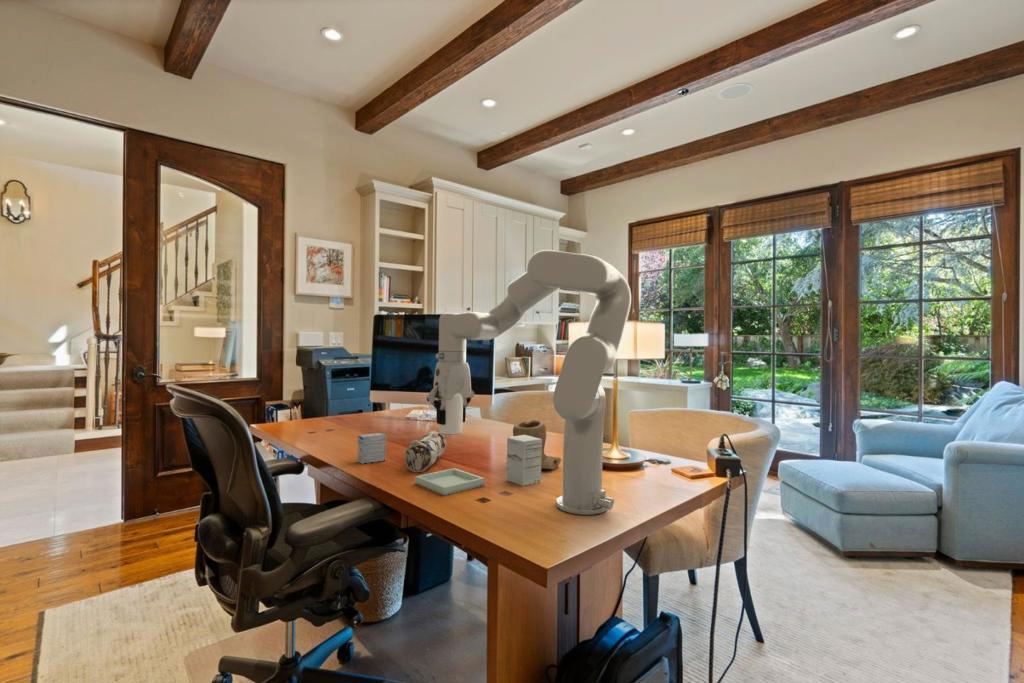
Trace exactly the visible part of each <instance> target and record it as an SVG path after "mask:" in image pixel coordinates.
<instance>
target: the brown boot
mask: <svg viewBox="0 0 1024 683" xmlns="http://www.w3.org/2000/svg"><path fill="white" fill-rule="evenodd" d="M519 435H528V436H532V437H536V438H539V439H542V457H541V470H555V469H557V468H558V467H559V465H560V463H561V460H562V458H561V457H559V456H558V457H557V456H548V455H547V454H545V445H546V441H547V427H546V424H545V423H544V422H543V421H541V420H537V419H535V420H534V419H533V420H530V421H526V420H523V421H522V420H521V421H520V422H518V423H515V424H514V426H513V428H512V437H513V436H519Z"/></svg>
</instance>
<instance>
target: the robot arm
mask: <svg viewBox="0 0 1024 683" xmlns="http://www.w3.org/2000/svg"><path fill="white" fill-rule="evenodd" d="M626 279H627V278H625V277H624V276H623V274H622V273H621V272H620V271H619V270H618V269H617V268H616V267H615V266H613V265H612V264H610V263H609V262H607V261H605V260H604V259H602V258H600V257H598V256H595V255H592V254H591V255H589V254H584V253H577V252H576V253H575V252H568V251H561V250H554V249H553V250H552V249H542V250H539V251H537V252H535V253H533V254H532V255H531V256H530V258H529V259H528V261H527V264H526V271H525V272H524V273H522V274H520V276H518V277H516V279H513V280H512V281H511V282H509V284H508V285H507V287H506V288H507V289H506V291H507V294H506V296H505V298H504V300H502V302H501V303H499V304H498V305H497V306H495V307H494V308H493V309H491V310H489V311H488V312H479V311H467V312H462V313H461V312H459V313H457V312H445V313H444V312H443V313H441V314H440V316H439V320H438V324H439V325H438V326H439V327H438V353H436V354H435V358H436V359H437V360H438V362H436V364H435V365H436V366H435V370H434V374H433V376H434V377H433V378H434V379H433V388H432V389H431V391H430V392H429V393H428V394H427V396H426V399H427V400H428V401H429V402H430V403H431V405H432V406H433V407H434V409H435V410H436V416H435V418H436V424H438V425H439V424H441V425H445V422H446V411H445V410H444V407H445V404H446V400H451V399H453V396H454V395H455V394H457V393H459V394H461V395H462V398H463V423H465V422H466V417H467V416H466V415H467V414H466V413H467V412H466V409H467V408H468V407H469V404H470V402H471V400H472V398H473V397H474V396H475V391H474V390H473V389H472V381H471V380H472V378H471V371H470V369H471V368H470V365H469V363H468V362H467V340H468V341H469V340H470V341H482V340H483V341H490V340H493V339H495V338H497V337H499V336H501V335H502V334H503V333H505V332H507V331H508V330H510V329H511V328H512V327H514V326H515V325H516V324H517V323H518V322H519V321H520V320H522V318H523V317H524V316H525V315H526V313H527V312H528V311H529V310H531V309H533V307H535V306H536V305H538V304H539V303H541V302H542V301H544V300H546V299H547V298H548V297H551V296H552V295H553V294H554V293H556V292H557V291H559V290H560V289H563V290H570V291H574V292H575V291H576V292H582V293H585V294H588V295H592V296H594V297H595V306H594V307H593V310H592V312H591V315H590V316H589V321H588V325H587V328H586V331H585V333H584V334H582V335H580V336H578V337H576V338H575V339H574V340H573V341H572V342H571V343H570V345H569V346H568V348H567V350H566V353H565V356H564V358H563V361H562V365H561V368H560V371H559V375H558V377H557V380H556V384H555V388H554V392H553V396H552V402H553V403H552V404H553V407H554V409H555V411H556V413H557V415H559V417H560V418H562V419H564V427H563V429H564V430H563V448H562V450H563V453H562V455H563V457H562V495H560V496H558V497H557V498H556V500H555V505H556V507H557V508H558V509H559V510H561V511H563V512H566V513H569V514H574V515H581V516H582V515H583V516H585V515H586V516H589V515H599V514H601V513H605V512H606V511H607V510H610V511H611V510H612V509H613V507H614V505H615V504H614V503H615V499H614V498H611V497H607V496H606V495H607V493H606V490H605V489H603V453H604V452H603V451H604V450H603V447H604V427H605V426H604V425H605V424H604V423H605V415H606V414H605V413H606V407H607V406H606V405H607V398H606V392H605V389H604V388H603V386H602V385H601V381H602V378H603V376H604V374H605V373H607V372H609V370H611V368H612V367H613V366H614V364H615V362H616V358H617V354H618V350H619V348H620V344H621V341H622V338H623V334H624V331H625V327H626V323H627V322H628V317H629V314H630V311H631V306H632V292H631V287H630V285H629V282H628V281H627V280H626ZM440 397H441V398H440ZM440 400H442V401H441V404H440Z"/></svg>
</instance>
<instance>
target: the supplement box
mask: <svg viewBox="0 0 1024 683" xmlns="http://www.w3.org/2000/svg"><path fill="white" fill-rule="evenodd" d="M506 439H507V440H506V441H507V444H506V453H507V454H506V474H505V475H506V479H505V480H506V482H507V481H508V482H511V483H513V484H516V485H519V486H521V487H526V486H525V485H527V486H530V485H529V484H531V485H534V484H533V483H536V484H539V483H538V482H540V483H542V469H541V457H542V439H539V438H536V437H532V436H528V435H519V436H513V435H512V436H508V437H507V438H506Z"/></svg>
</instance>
